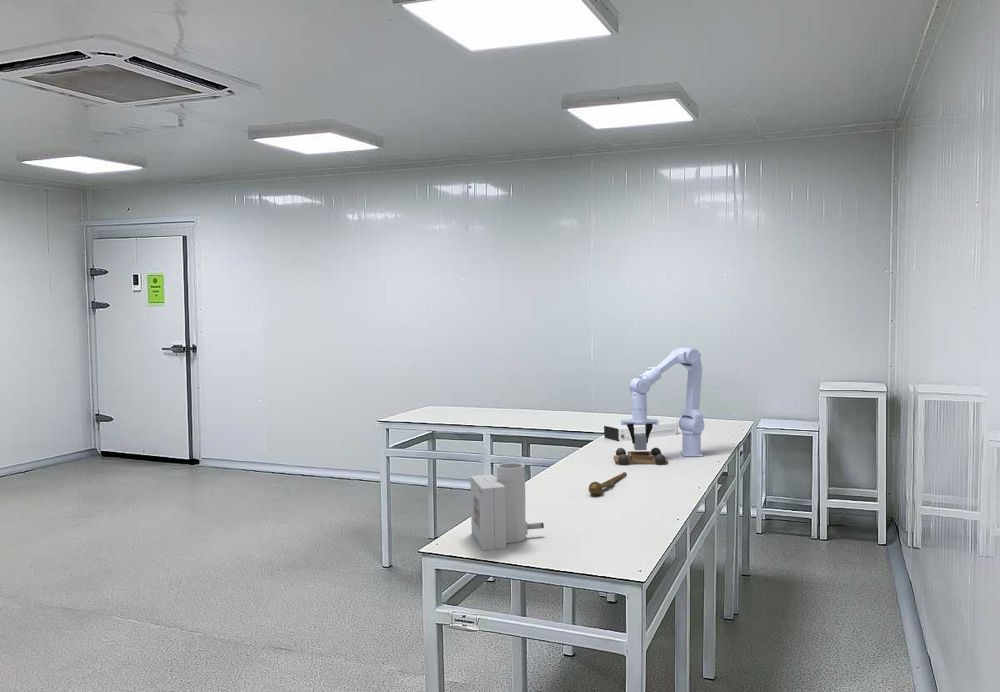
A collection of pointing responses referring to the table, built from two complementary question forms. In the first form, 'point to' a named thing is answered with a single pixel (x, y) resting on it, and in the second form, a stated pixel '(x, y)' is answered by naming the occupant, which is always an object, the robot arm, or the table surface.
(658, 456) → the chassis
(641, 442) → the block
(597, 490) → the ball-headed bronze rod
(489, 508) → the box with tube attached
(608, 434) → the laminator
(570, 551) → the table surface
